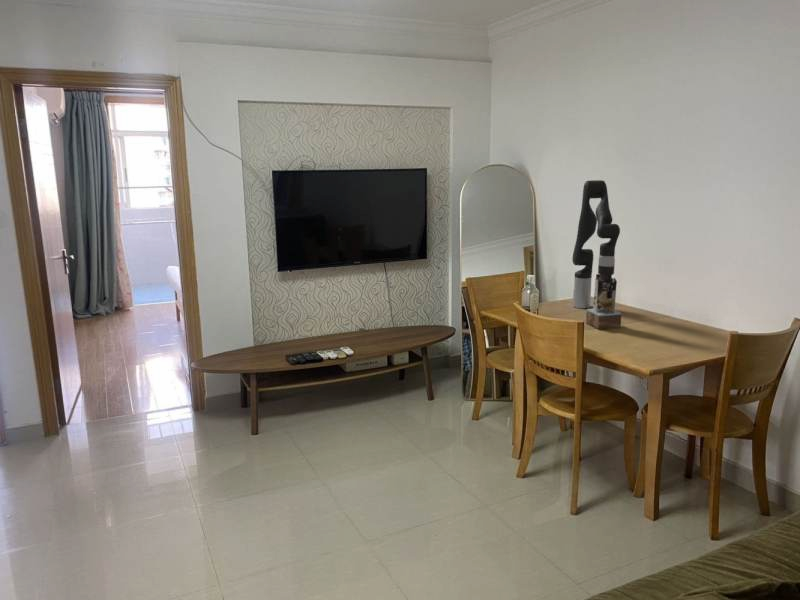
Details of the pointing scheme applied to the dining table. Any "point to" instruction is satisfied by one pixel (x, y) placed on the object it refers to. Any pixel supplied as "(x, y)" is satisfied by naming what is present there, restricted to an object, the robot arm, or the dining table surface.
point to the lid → (603, 313)
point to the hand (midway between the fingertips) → (604, 296)
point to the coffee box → (603, 297)
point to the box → (603, 321)
